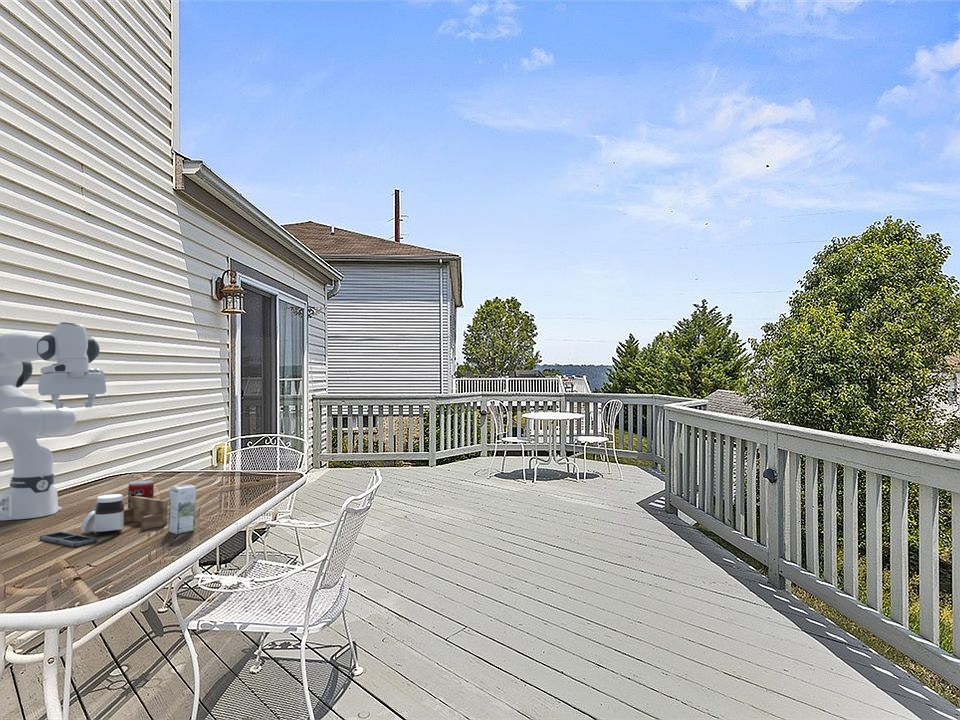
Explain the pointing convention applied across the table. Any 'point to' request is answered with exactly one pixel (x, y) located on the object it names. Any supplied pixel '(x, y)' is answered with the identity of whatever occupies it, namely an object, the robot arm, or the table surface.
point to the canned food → (140, 489)
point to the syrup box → (182, 509)
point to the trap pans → (68, 539)
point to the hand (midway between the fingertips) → (74, 408)
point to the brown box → (147, 512)
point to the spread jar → (105, 516)
